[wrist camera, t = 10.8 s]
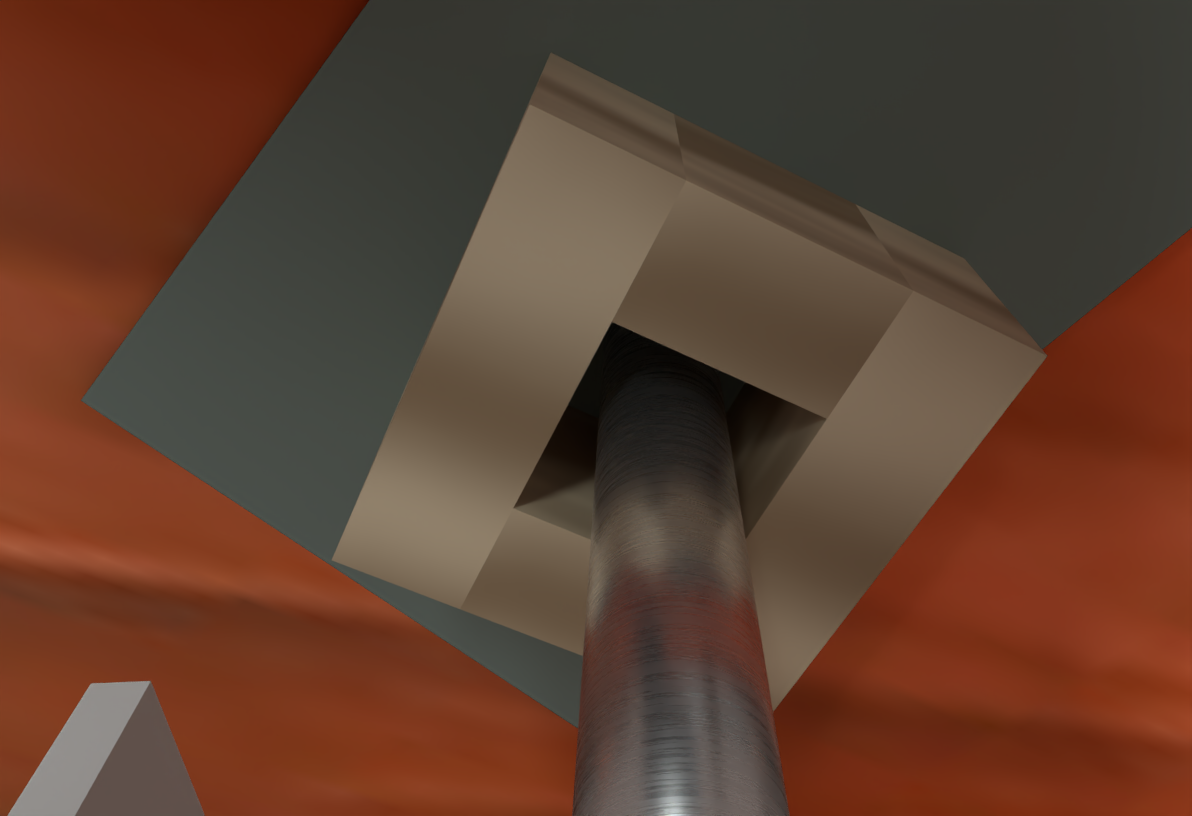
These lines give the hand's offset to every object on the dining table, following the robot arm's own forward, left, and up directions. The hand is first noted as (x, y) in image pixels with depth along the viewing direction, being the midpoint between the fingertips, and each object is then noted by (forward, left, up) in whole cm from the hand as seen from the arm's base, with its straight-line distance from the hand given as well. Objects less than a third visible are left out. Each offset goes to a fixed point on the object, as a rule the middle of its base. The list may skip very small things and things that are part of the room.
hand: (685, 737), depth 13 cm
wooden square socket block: (0, 0, -12) cm, 12 cm away
